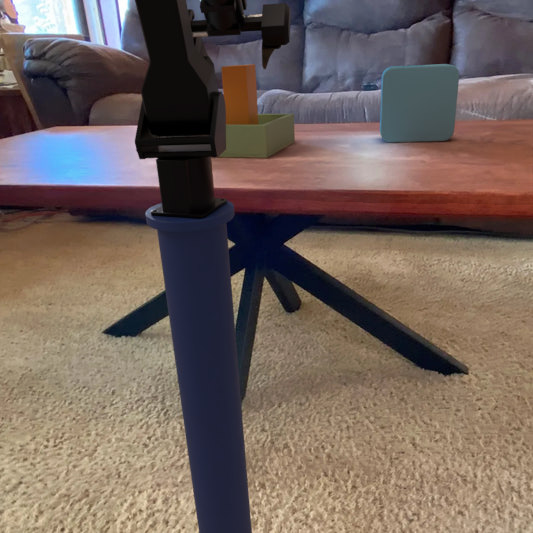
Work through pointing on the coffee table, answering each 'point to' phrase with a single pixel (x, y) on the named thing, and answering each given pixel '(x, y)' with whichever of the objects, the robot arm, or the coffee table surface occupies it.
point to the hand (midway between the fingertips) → (237, 68)
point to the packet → (240, 94)
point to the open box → (260, 136)
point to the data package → (418, 103)
